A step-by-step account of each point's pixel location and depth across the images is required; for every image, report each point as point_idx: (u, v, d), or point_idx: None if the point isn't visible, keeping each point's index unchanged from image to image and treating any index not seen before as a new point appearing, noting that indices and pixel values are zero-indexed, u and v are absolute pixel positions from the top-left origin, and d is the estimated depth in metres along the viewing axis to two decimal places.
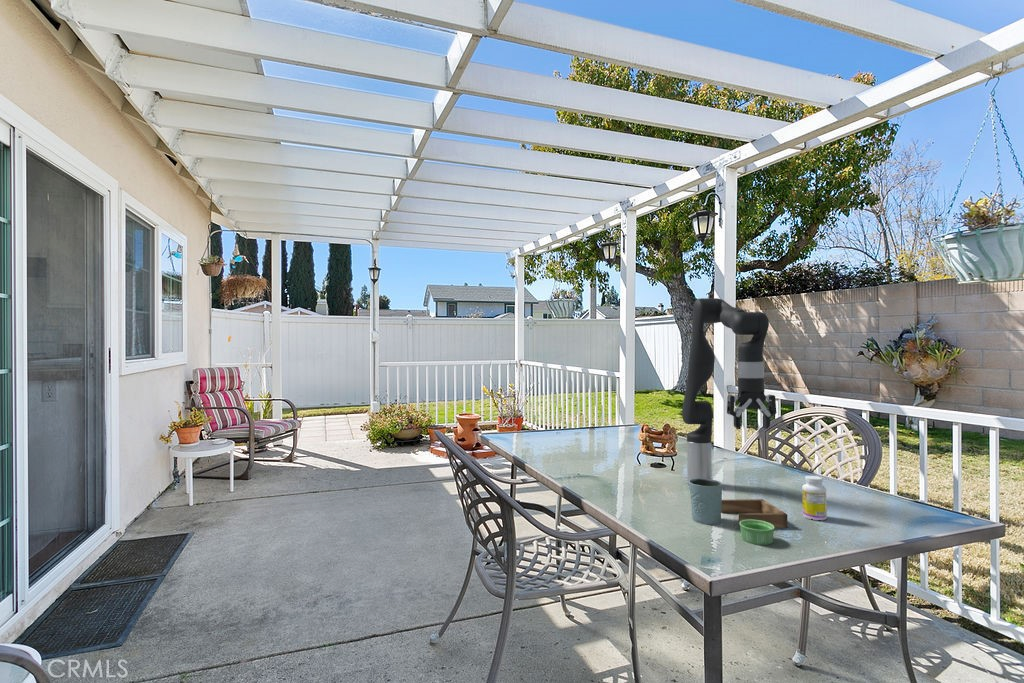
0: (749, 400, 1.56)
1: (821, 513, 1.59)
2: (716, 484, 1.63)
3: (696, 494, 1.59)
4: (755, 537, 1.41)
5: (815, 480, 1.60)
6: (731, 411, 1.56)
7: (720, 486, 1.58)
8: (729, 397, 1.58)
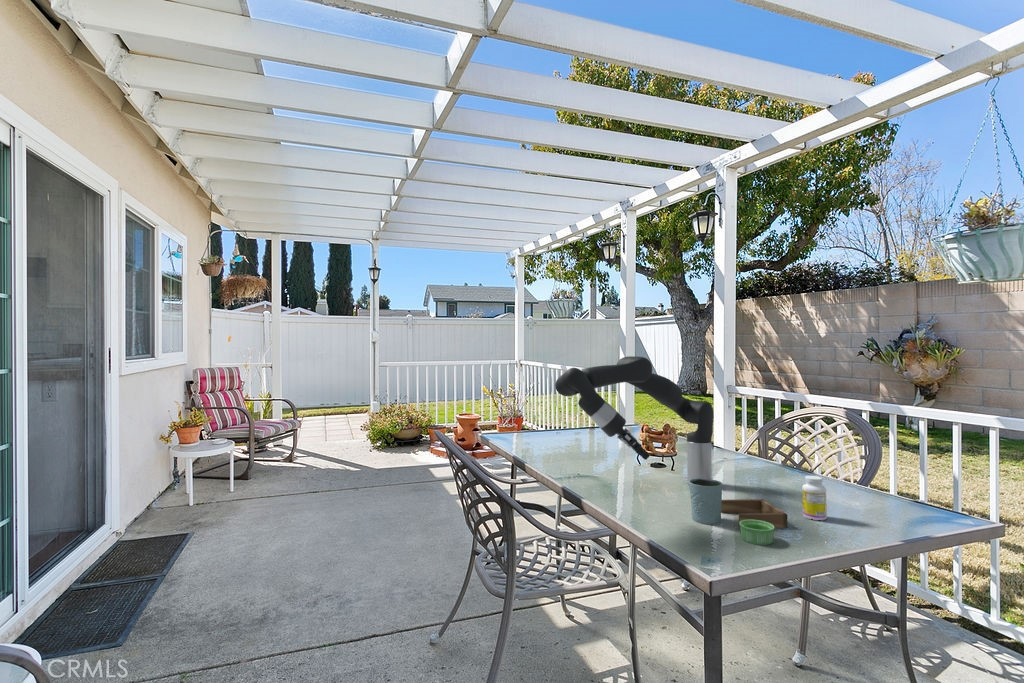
0: None
1: (821, 513, 1.59)
2: (716, 484, 1.63)
3: (696, 494, 1.59)
4: (755, 537, 1.41)
5: (815, 480, 1.60)
6: None
7: (720, 486, 1.58)
8: None
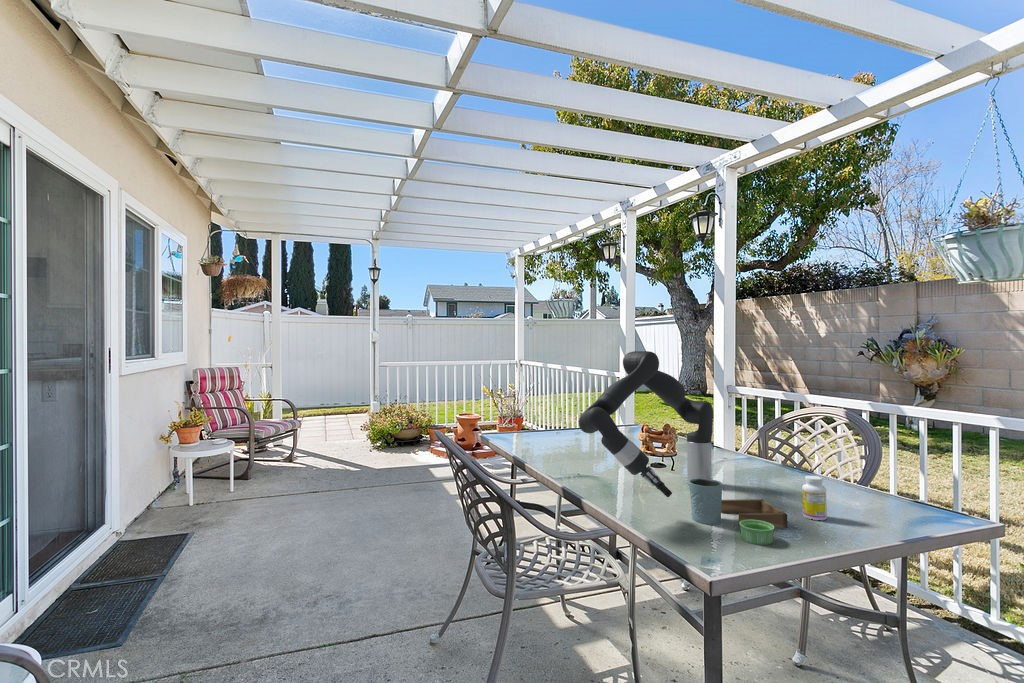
0: None
1: (821, 513, 1.59)
2: (716, 484, 1.63)
3: (696, 494, 1.59)
4: (755, 537, 1.41)
5: (815, 480, 1.60)
6: None
7: (720, 486, 1.58)
8: None
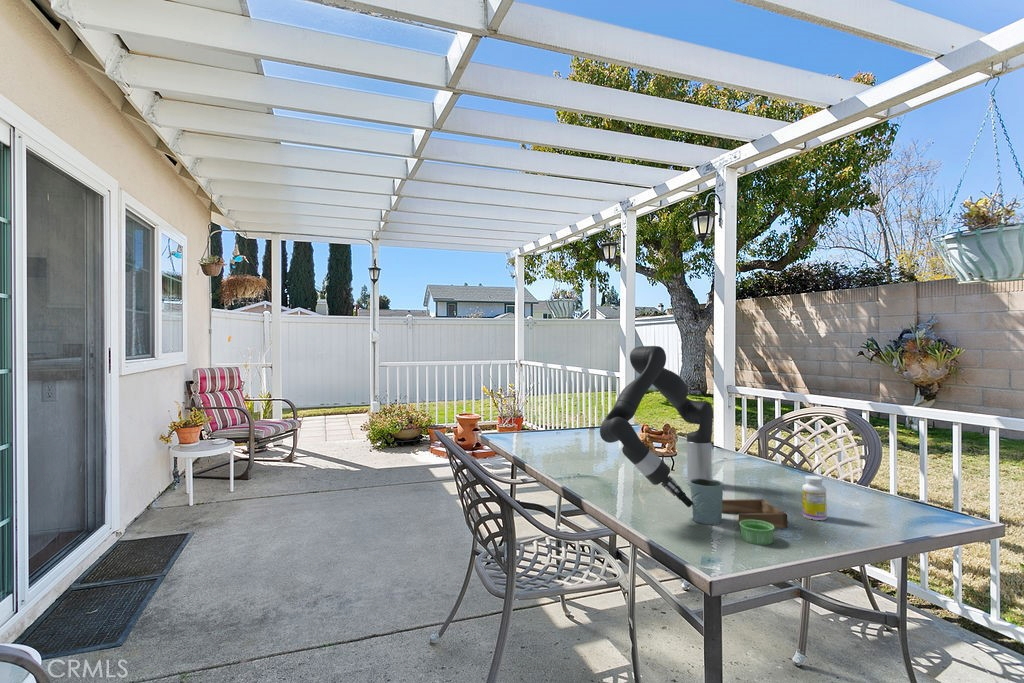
0: (662, 485, 1.63)
1: (821, 513, 1.59)
2: (717, 483, 1.63)
3: (697, 494, 1.59)
4: (755, 537, 1.41)
5: (815, 480, 1.60)
6: None
7: (721, 486, 1.58)
8: None
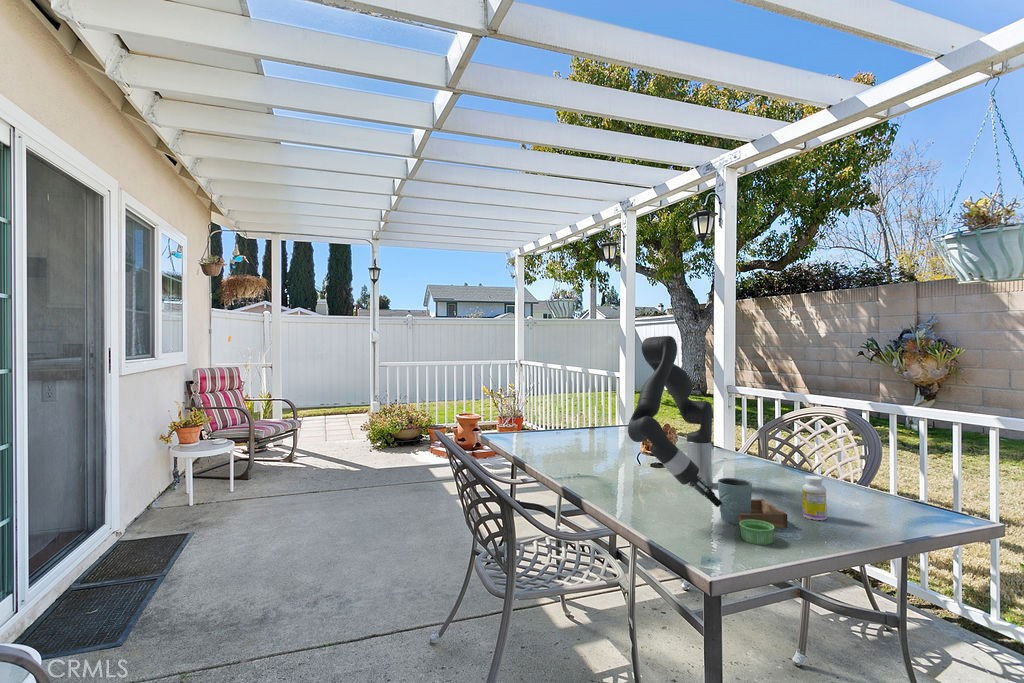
0: (690, 485, 1.63)
1: (821, 513, 1.59)
2: (744, 483, 1.63)
3: (726, 494, 1.59)
4: (755, 537, 1.41)
5: (815, 480, 1.60)
6: None
7: (750, 485, 1.58)
8: None
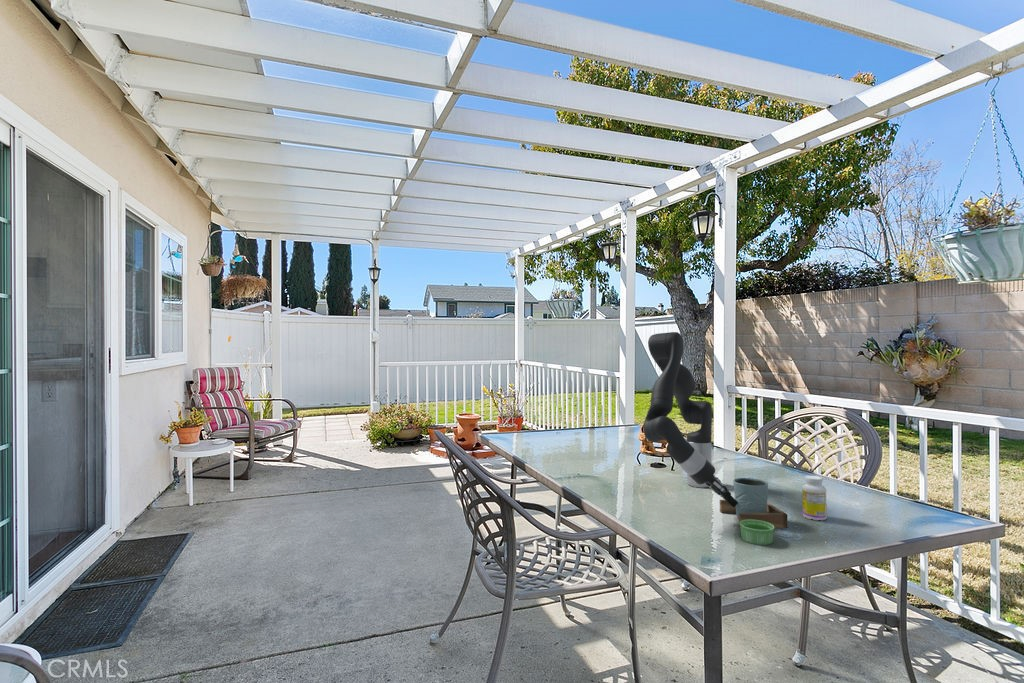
0: (706, 485, 1.63)
1: (821, 513, 1.59)
2: (760, 483, 1.63)
3: (743, 494, 1.58)
4: (755, 537, 1.41)
5: (815, 480, 1.60)
6: None
7: (766, 485, 1.58)
8: None
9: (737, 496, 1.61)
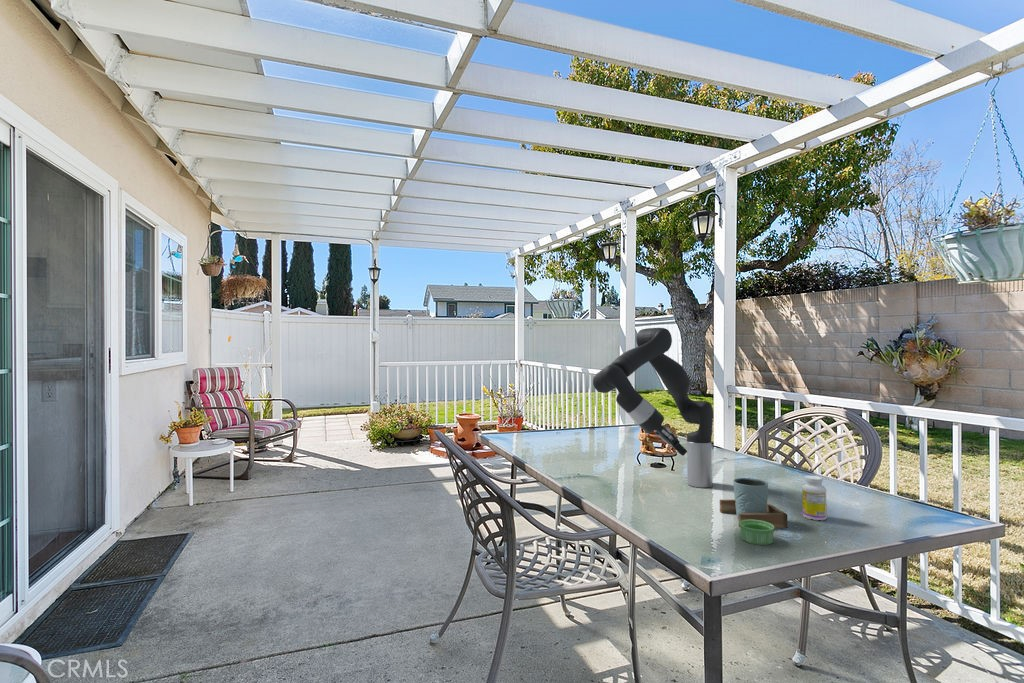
0: None
1: (821, 513, 1.59)
2: (760, 483, 1.63)
3: (743, 494, 1.58)
4: (755, 537, 1.41)
5: (815, 480, 1.60)
6: None
7: (766, 485, 1.58)
8: None
9: (737, 496, 1.60)
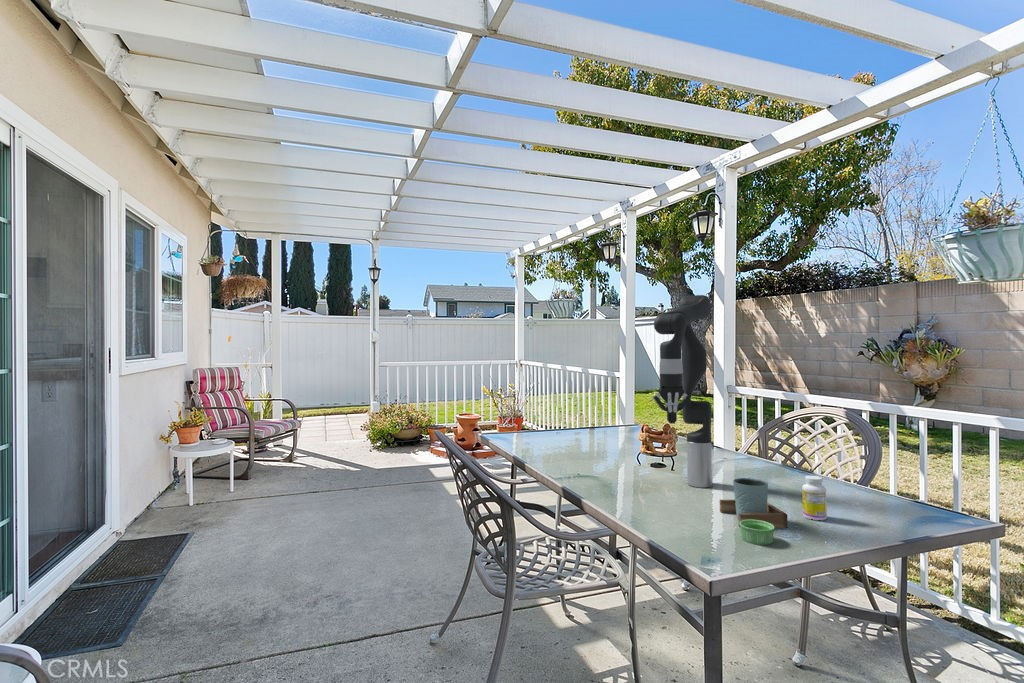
0: (669, 394, 1.71)
1: (821, 513, 1.59)
2: (760, 483, 1.63)
3: (743, 494, 1.58)
4: (755, 537, 1.41)
5: (815, 480, 1.60)
6: (663, 408, 1.72)
7: (766, 485, 1.58)
8: (654, 398, 1.73)
9: (737, 496, 1.60)
